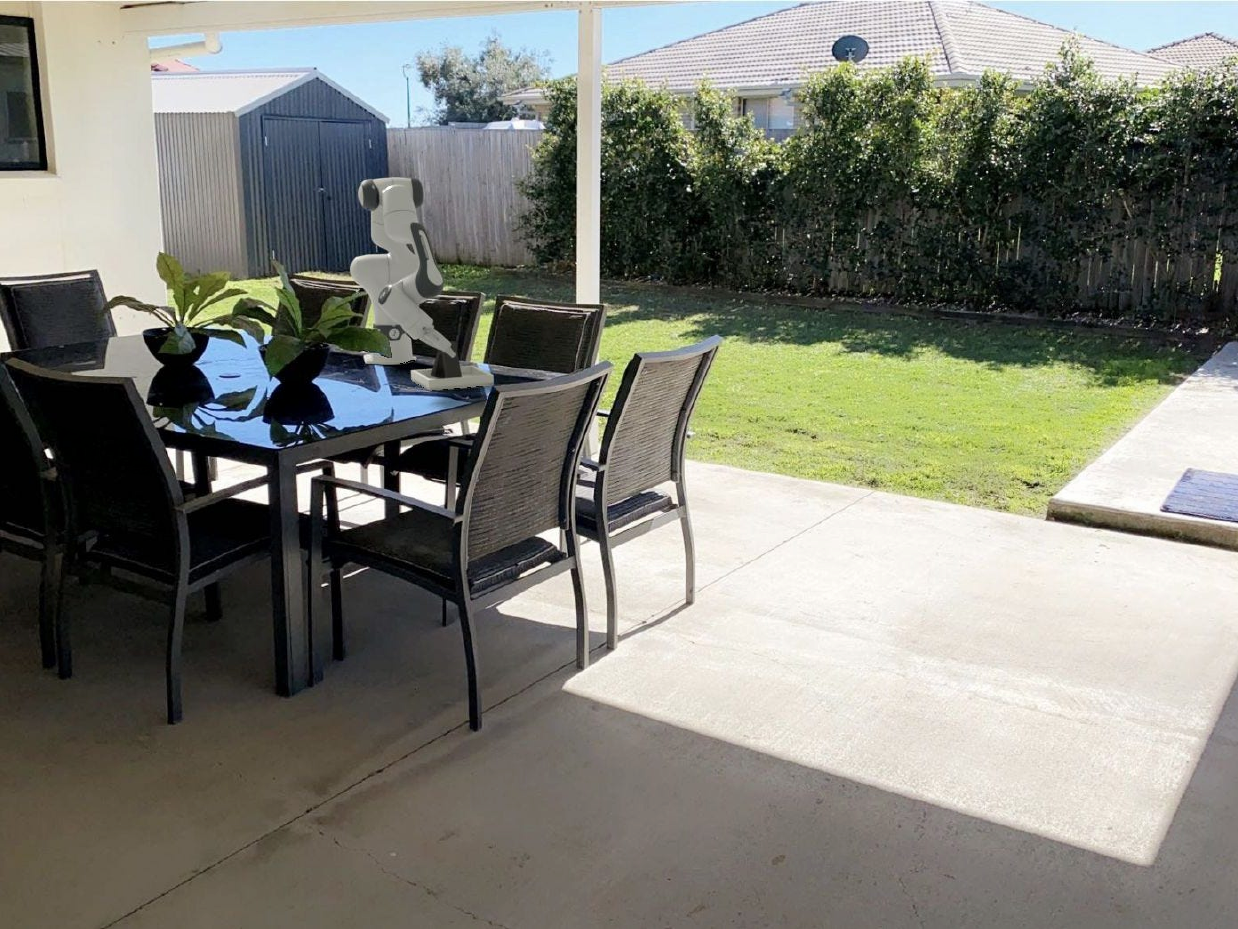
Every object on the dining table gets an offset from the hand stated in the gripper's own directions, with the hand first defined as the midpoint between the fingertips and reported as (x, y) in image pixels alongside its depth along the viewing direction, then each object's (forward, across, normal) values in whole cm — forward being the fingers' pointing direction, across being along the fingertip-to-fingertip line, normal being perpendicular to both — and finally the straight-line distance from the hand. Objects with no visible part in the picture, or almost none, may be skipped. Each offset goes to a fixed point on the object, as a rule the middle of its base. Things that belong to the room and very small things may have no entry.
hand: (449, 353), depth 382 cm
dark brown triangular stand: (+6, +3, +6) cm, 9 cm away
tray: (+7, 0, +7) cm, 10 cm away
